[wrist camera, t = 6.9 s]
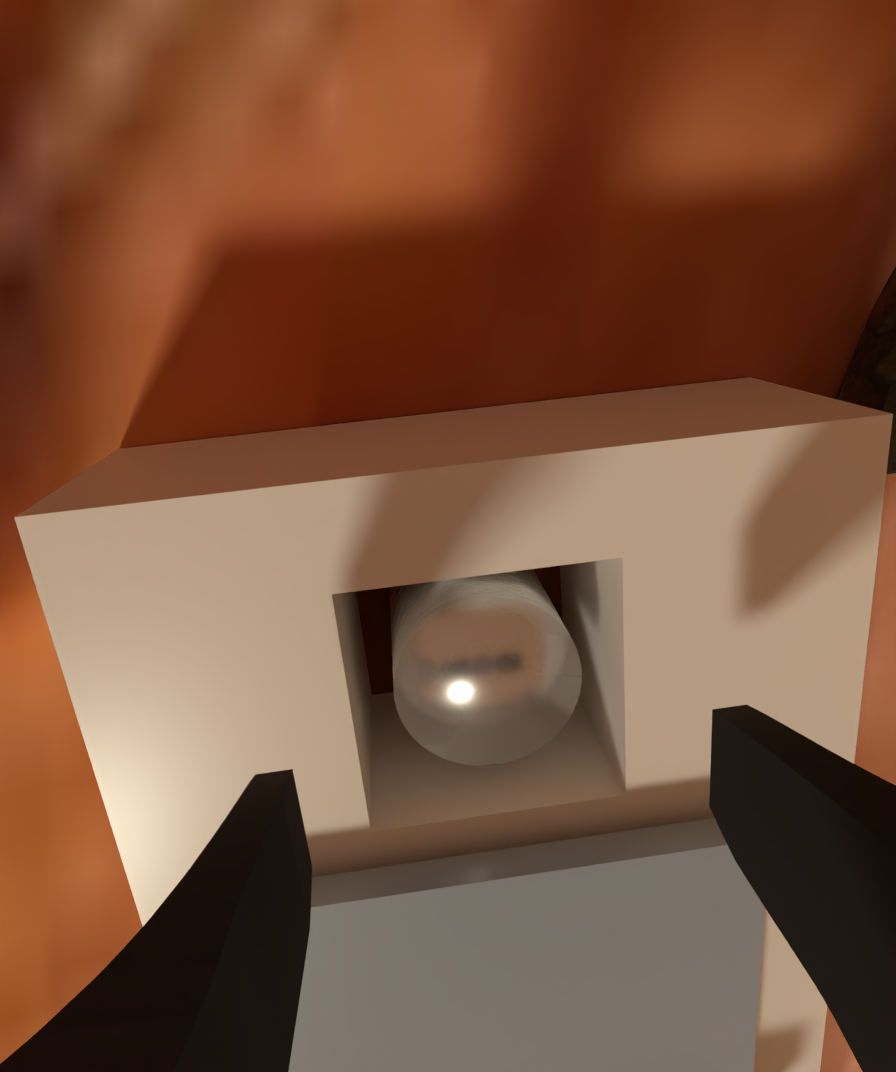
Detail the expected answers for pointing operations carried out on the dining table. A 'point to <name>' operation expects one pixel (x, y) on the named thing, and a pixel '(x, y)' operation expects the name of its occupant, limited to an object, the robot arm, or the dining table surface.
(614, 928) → the cover
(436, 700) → the peg
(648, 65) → the dining table surface
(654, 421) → the housing
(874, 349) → the hand tool
